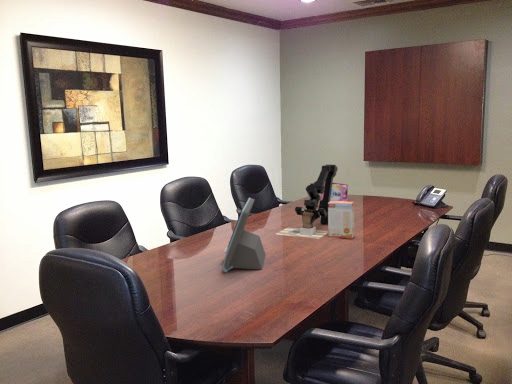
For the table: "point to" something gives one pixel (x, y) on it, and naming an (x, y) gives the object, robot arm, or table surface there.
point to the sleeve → (308, 231)
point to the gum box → (338, 192)
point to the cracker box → (341, 219)
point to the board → (297, 233)
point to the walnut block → (307, 220)
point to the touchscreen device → (244, 245)
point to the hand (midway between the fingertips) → (306, 223)
